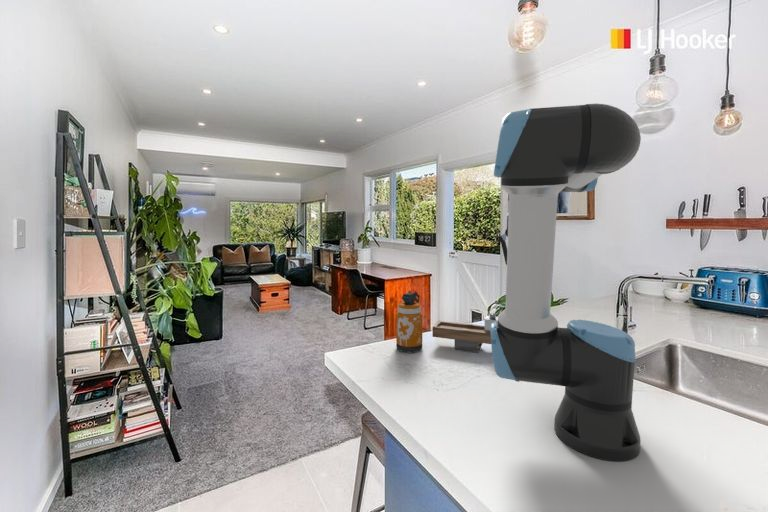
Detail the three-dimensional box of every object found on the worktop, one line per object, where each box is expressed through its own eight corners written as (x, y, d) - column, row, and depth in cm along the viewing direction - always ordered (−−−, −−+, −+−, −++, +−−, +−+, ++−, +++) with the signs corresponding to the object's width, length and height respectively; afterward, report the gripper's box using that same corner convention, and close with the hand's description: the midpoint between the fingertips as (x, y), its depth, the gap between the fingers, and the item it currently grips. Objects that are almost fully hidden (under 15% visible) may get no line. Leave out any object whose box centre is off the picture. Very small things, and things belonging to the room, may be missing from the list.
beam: (501, 357, 116) (502, 334, 115) (432, 347, 125) (432, 326, 125) (503, 349, 124) (504, 327, 123) (438, 340, 133) (438, 320, 132)
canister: (391, 351, 123) (391, 293, 121) (405, 341, 132) (405, 287, 130) (416, 355, 119) (416, 295, 117) (428, 345, 128) (428, 289, 126)
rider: (498, 335, 118) (499, 316, 117) (484, 333, 119) (484, 314, 119) (500, 331, 122) (500, 312, 121) (486, 330, 124) (486, 311, 123)
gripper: (542, 213, 114) (539, 287, 117) (499, 214, 120) (497, 284, 122) (542, 213, 108) (539, 291, 110) (496, 214, 113) (495, 288, 115)
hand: (517, 287), depth 116 cm, fingers closed
